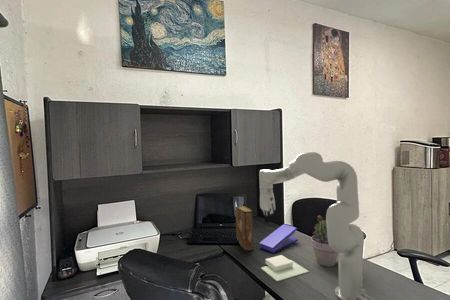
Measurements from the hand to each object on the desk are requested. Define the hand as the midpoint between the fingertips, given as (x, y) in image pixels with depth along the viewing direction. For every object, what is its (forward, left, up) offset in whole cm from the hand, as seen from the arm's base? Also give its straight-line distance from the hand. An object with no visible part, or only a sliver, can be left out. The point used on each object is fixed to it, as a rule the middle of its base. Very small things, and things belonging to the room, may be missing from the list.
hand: (267, 221), depth 151 cm
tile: (-5, 0, -20) cm, 21 cm away
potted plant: (-20, -26, -22) cm, 39 cm away
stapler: (+14, -18, -23) cm, 32 cm away
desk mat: (-15, 0, -22) cm, 27 cm away
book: (+23, +3, -22) cm, 32 cm away
